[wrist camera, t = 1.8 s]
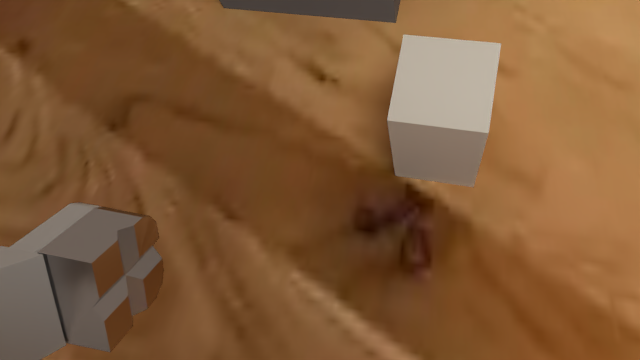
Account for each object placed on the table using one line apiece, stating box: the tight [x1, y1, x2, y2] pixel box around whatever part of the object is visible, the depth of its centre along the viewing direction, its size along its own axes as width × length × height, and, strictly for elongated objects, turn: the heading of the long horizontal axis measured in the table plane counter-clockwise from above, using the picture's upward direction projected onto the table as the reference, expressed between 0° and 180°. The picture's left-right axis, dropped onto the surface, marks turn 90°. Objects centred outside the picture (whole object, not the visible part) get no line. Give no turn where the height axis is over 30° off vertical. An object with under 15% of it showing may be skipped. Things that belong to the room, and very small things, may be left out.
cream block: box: [387, 35, 501, 187], centre depth 30 cm, size 4×4×8 cm
